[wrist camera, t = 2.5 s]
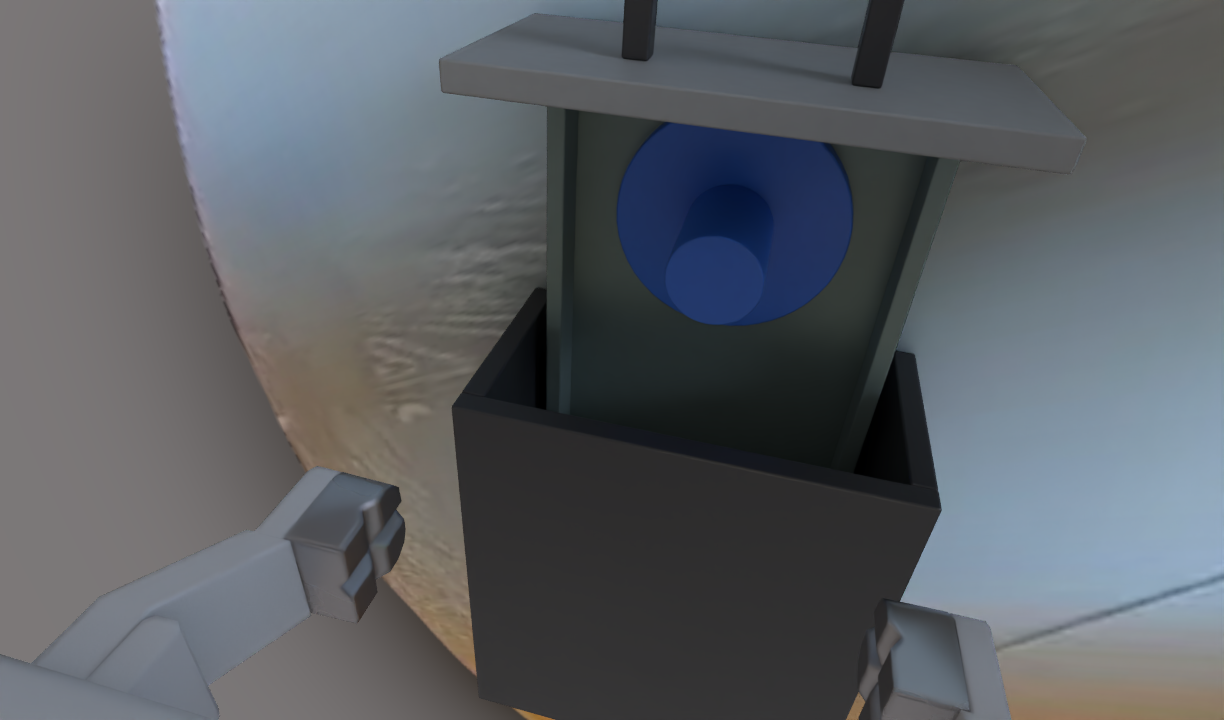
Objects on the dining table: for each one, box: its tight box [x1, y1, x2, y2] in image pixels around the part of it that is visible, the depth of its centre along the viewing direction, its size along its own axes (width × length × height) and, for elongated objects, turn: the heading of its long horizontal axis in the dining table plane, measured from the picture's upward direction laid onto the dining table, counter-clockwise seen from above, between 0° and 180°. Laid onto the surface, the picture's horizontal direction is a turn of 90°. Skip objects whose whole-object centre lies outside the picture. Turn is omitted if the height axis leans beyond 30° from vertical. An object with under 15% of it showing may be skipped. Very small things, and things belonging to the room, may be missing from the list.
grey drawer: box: [439, 0, 1086, 473], centre depth 22 cm, size 20×14×7 cm
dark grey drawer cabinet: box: [452, 288, 942, 720], centre depth 29 cm, size 17×15×8 cm
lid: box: [617, 122, 853, 326], centre depth 22 cm, size 8×8×5 cm
